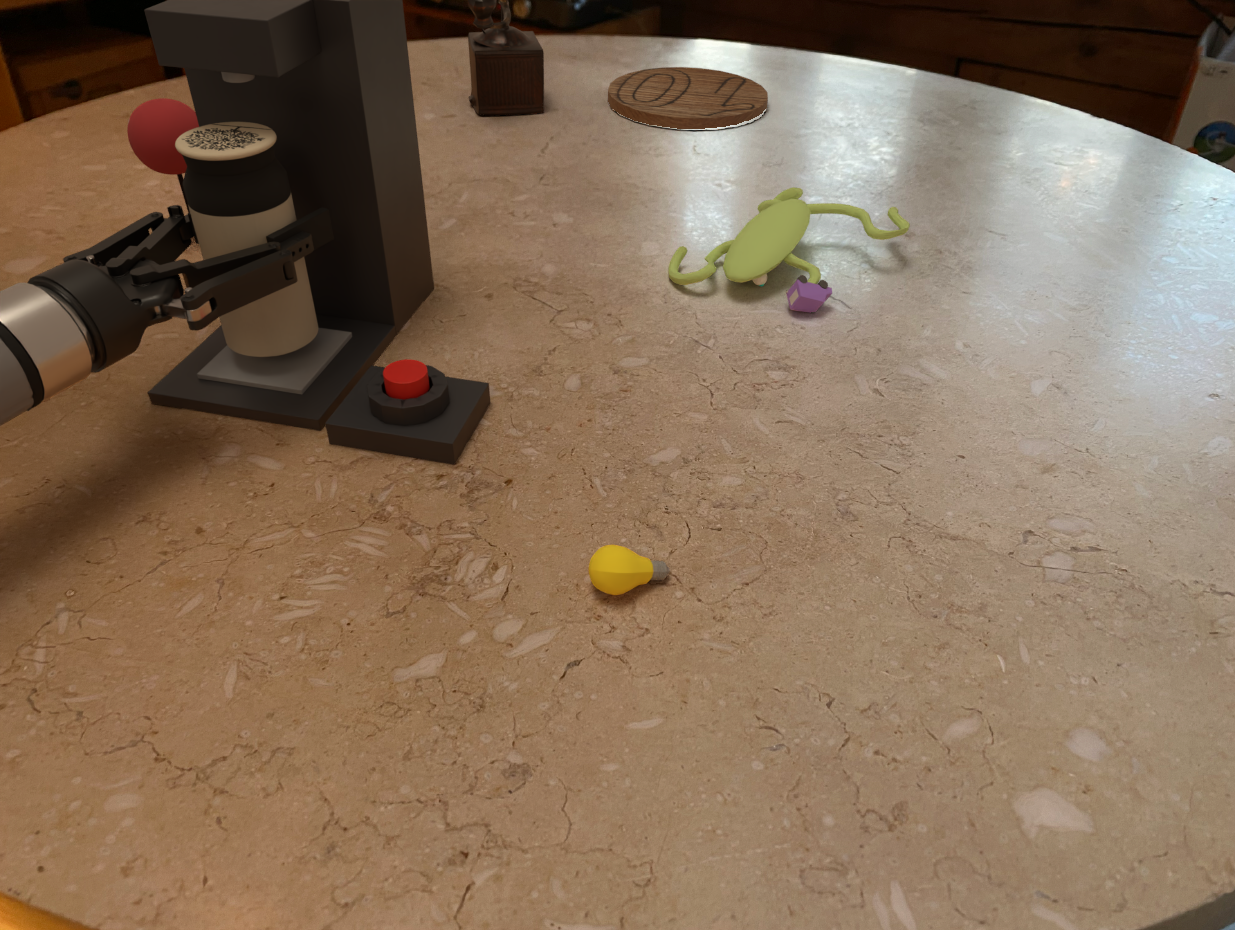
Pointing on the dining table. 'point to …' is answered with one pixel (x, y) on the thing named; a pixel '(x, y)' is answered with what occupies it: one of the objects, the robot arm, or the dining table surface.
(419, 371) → the button
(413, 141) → the coffee maker
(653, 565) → the light bulb
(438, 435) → the panel
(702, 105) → the trivet
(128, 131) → the lollipop
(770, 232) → the figurine
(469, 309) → the dining table surface
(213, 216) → the travel mug
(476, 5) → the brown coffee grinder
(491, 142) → the dining table surface
